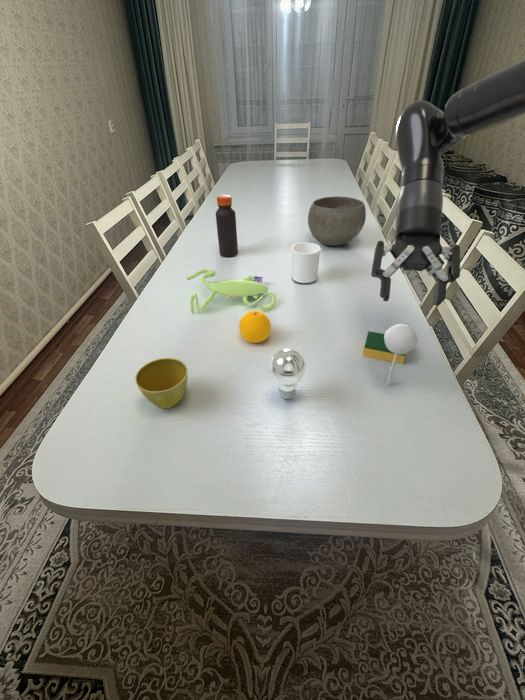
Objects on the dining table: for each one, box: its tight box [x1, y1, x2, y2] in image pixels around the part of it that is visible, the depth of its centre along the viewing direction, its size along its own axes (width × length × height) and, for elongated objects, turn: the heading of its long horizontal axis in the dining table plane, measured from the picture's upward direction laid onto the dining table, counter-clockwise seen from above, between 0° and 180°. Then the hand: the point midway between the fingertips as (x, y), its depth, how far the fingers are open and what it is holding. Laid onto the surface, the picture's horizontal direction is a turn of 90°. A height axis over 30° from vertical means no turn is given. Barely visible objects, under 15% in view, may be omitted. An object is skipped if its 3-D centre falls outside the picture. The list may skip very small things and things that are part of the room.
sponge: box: [362, 330, 406, 365], centre depth 84 cm, size 9×6×3 cm, turn 69°
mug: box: [291, 242, 322, 285], centre depth 113 cm, size 11×9×10 cm
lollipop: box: [384, 323, 418, 386], centre depth 72 cm, size 6×6×15 cm
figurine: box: [186, 268, 277, 314], centre depth 106 cm, size 18×27×6 cm
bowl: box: [307, 196, 367, 247], centre depth 134 cm, size 21×21×15 cm
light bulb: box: [269, 348, 307, 400], centre depth 71 cm, size 7×7×12 cm
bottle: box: [215, 194, 239, 258], centre depth 126 cm, size 7×7×20 cm
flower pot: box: [134, 357, 189, 409], centre depth 72 cm, size 10×10×7 cm
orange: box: [238, 310, 272, 344], centre depth 88 cm, size 8×8×8 cm
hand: (411, 302), depth 62 cm, fingers open, 8 cm apart
